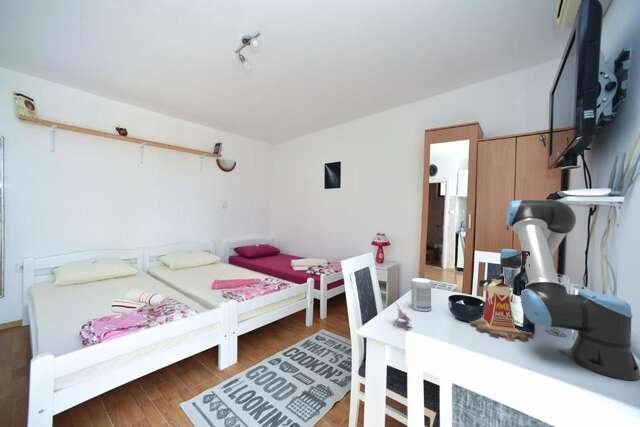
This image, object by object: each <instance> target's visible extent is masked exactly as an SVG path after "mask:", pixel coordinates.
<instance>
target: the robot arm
mask: <svg viewBox="0 0 640 427" xmlns="http://www.w3.org/2000/svg"><path fill="white" fill-rule="evenodd" d="M505 216H506V217H505V224H506V226H508V227H512V230H513V232H514V233H516V234H517V235H518V238H519V243H520V248H521V253H519V252H518V249H517V250H516V249H514V248H502V249H501V250H500V253H499V254H500V256H499V258H500V261H499V263H500V264H499V265H500V266H499V275H498V278H497V279H496V280H502V281H501V283H503V284H504V276H503V267H511V268H517V269H518V268H520V266H521V254H522V251H529V252H530V256H529V255H528V256H527V259H526V264H525V268H524V269H525V273H526V277H527V281H528V283H527V284H525V289H524V290H522V291H521V295H520V294H519V298H520V304H521V305H520V306H521V308H522V311H523V313H524V316H525V317H526V318H527V320H528V321H529V322H531V323H533V324H535V325H540V326H543V327H547V328H549V327H551V328H559V329H565V330H573V331H577V336H576V339H575V340H574V342H573V344H572V345H571V346H572V347H571V348H570V354H569V357H570V358H571V360H572V361H573V362H575V363H576V364H577V365H580V366H581V367H583V368H585V369H587V370H589V371H592V372H594V373H597V374H600V375H603V376H606V377H609V378H614V379H619V380H624V381H625V380H626V381H636V380H639V379H640V367H639V365H638V363H637V361H636V359H635V356H634V354H633V351H632V348H631V347H632V345H631V344H632V318H633V315H632V308H631V307H632V306H631V305H630V303H628V302H627V301H626V300H623V299H621V298H619V297H616V296H613V295H609V294H606V293H602V292H598V291H592V290H588V289H587V290H586V289H579V290H578V292H577V294H574V293H569V292H568V291H567V287H566V285H564V284H562V283H561V282H559V279H558V275H557V272H556V268H555V264H554V263H555V262H554V257H553V256H554V253H556V250H557V249H558V248H559V246H560V245H561V243H562V241H563V239H564V238H565V237H566V235H567V234H569V233H570V232H571V231H573V229H574V228H575V225H576V223H577V218H576V214H575V211H574V210H573V209H572V208H571V207H570V206H569V205H568V204H566V203H565V202H562V201H561V200H557V199H535V200H534V199H527V200H525V199H520V200H519V199H517V200H511V201H510V202H509V204H508V206H507V210H506V215H505ZM526 254H528V253H526ZM529 264H530V267H529ZM492 279H493V278H489V279H483V280H478V281H479V283H478V284H479V285H478V286H479V287H482V288H483V292H487V289H488V285H489V284H490V283H492V282H493V280H492Z"/></svg>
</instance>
